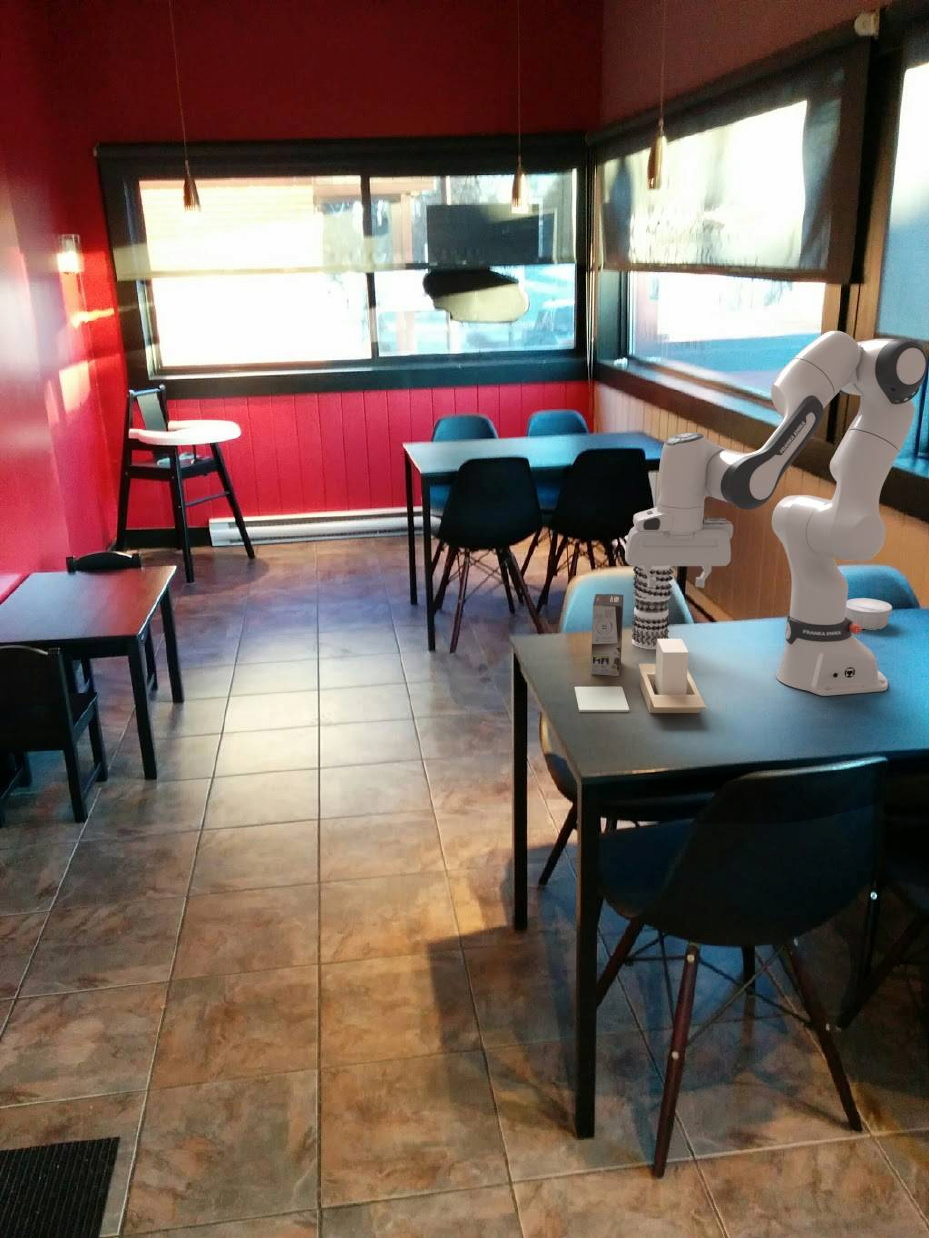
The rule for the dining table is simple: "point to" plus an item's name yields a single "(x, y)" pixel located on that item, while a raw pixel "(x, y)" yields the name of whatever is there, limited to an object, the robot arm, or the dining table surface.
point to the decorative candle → (651, 606)
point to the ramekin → (868, 613)
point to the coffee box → (607, 634)
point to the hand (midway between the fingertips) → (675, 586)
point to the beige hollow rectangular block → (669, 702)
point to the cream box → (671, 667)
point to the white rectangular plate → (601, 699)
